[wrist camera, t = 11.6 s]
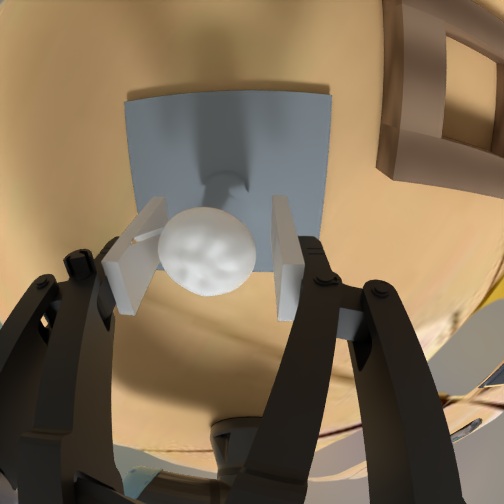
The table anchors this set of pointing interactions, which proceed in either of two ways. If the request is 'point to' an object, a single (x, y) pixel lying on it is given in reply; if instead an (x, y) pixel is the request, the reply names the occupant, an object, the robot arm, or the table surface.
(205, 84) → the table surface
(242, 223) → the milkshake
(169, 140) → the mat
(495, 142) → the pocket block
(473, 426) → the terrain model
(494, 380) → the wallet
